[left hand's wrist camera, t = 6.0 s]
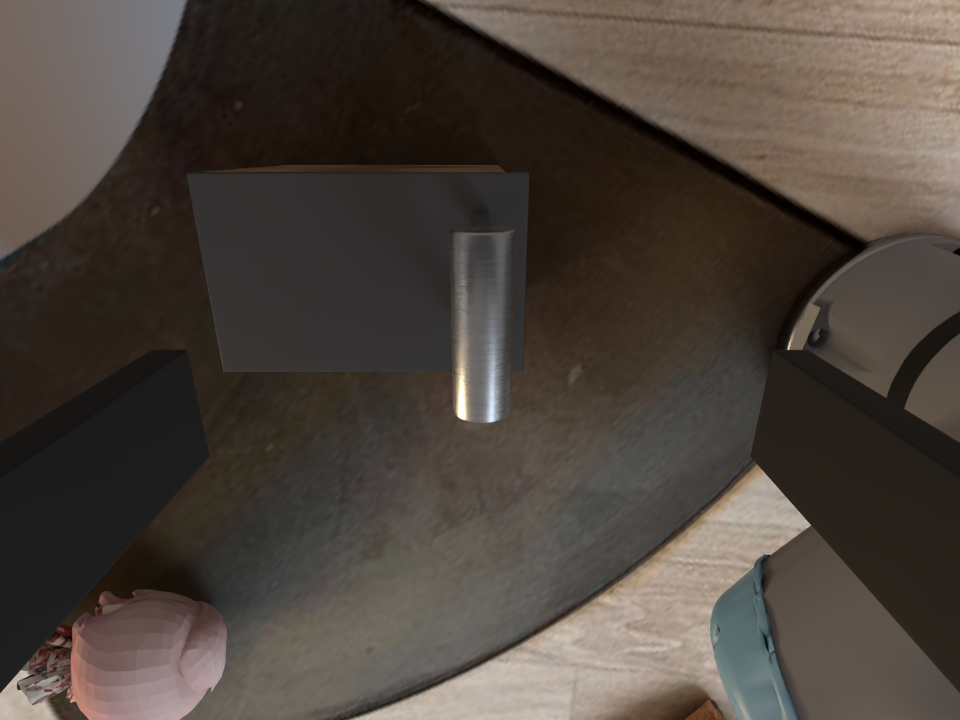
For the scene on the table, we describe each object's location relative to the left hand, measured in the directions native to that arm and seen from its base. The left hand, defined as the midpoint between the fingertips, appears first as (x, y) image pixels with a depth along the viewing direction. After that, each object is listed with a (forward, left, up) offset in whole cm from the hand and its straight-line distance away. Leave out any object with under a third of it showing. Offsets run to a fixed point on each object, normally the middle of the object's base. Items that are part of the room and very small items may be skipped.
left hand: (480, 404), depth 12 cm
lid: (+4, -3, -14) cm, 15 cm away
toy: (+42, +11, -25) cm, 50 cm away
